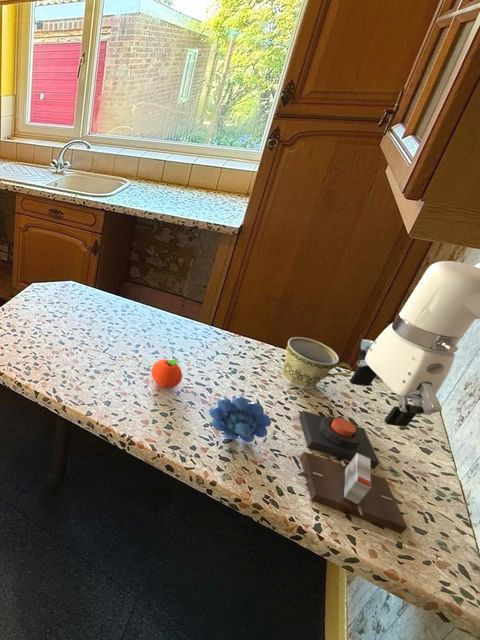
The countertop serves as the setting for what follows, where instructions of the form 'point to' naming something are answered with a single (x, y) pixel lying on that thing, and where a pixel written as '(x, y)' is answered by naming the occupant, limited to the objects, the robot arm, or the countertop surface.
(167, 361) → the clementine
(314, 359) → the ceramic cup
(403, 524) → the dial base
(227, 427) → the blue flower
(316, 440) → the button box
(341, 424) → the button
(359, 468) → the grey block
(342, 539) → the countertop surface
